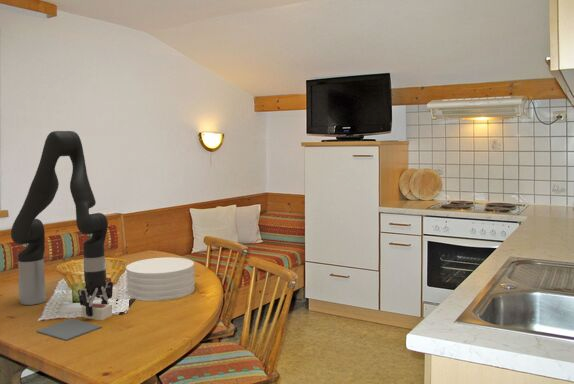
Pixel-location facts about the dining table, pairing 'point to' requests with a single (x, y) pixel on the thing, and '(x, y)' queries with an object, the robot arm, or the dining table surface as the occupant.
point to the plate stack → (160, 279)
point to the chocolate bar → (123, 312)
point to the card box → (98, 311)
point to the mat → (68, 329)
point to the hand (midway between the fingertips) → (97, 313)
